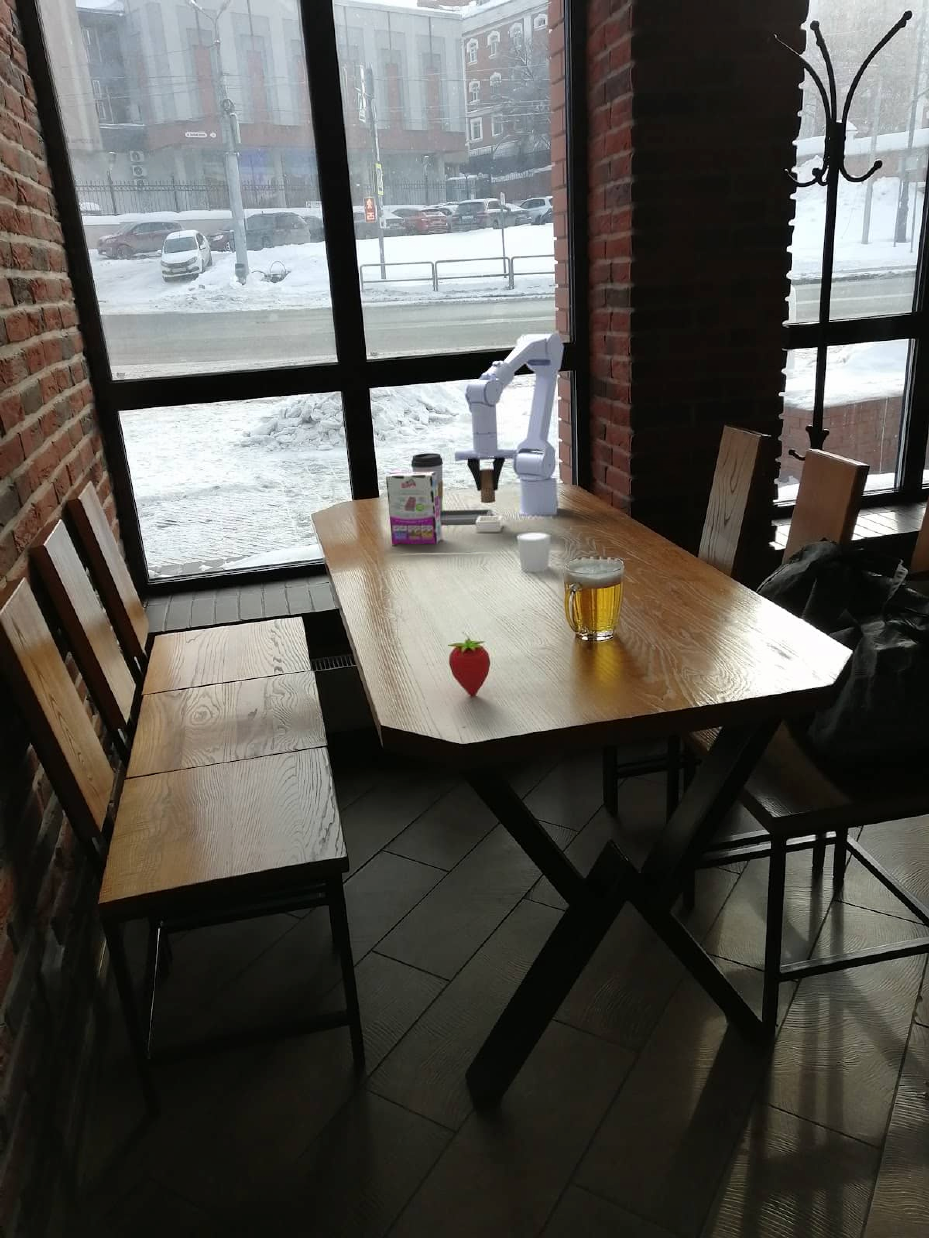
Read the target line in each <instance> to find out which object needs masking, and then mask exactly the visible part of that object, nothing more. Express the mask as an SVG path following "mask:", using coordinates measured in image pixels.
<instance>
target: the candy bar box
mask: <svg viewBox="0 0 929 1238" xmlns="http://www.w3.org/2000/svg"><path fill="white" fill-rule="evenodd" d="M385 482H386V490H387V491H386V492H387V493H386V494H387V500H388V501H387V503H388V504H387V505H388V515H389V524H390V534H391V535H390V537H391V544H395V545H394V546H398V545H399V544H400V545H407V544H408V545H412V544H413V545H438V543H439V542H441V540H443V534H442V531H443V530H442V525H441V519H440V505H439V492H438V479H437V472H413V471H410V472H409V471H406V472H405V471H400V472H391V473H389V474H387V475H386V476H385ZM396 544H397V545H396Z"/></svg>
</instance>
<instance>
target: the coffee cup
mask: <svg viewBox="0 0 929 1238" xmlns="http://www.w3.org/2000/svg"><path fill="white" fill-rule="evenodd" d="M443 464H444V462H443V458H442V455H441V454H440V453H437V452H436V453H434V452H431V453H430V452H428V453H419V454H414V455H412V459H411V464H410V466H411V468H412V469H411V470H412V472H437V479H438V492H439V505H440V511H441V510H443V494H444V491H443V490H444V487H443V486H444V484H443V483H444V482H443V481H444V480H443Z"/></svg>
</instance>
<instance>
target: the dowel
mask: <svg viewBox="0 0 929 1238" xmlns="http://www.w3.org/2000/svg"><path fill="white" fill-rule="evenodd" d="M480 489H481V490H480V502H481V503H482V504H491V503H495V502H496V491H494V469H492V468H483V469H480Z"/></svg>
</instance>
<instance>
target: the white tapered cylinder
mask: <svg viewBox="0 0 929 1238" xmlns="http://www.w3.org/2000/svg"><path fill="white" fill-rule="evenodd" d="M516 539H517V547H518V554H519V563H520V569H521V571H523V572H525V573H526V572H527V573H541V572H544V571H547V570H548V569H549V559H550V544H551V535H550V534H549V533H548V532H547V533H546V532H541V531H540V532H539V531H534V532H533V531H532V532H524V533H520V534H518V535H517V536H516Z"/></svg>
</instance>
